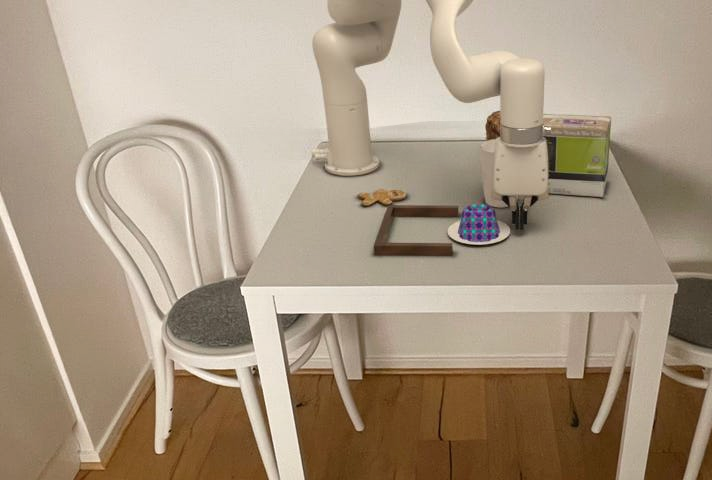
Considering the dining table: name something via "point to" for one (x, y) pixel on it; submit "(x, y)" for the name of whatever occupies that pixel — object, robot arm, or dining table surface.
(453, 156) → the dining table surface
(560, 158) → the tea box
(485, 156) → the cup
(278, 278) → the dining table surface
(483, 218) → the pudding
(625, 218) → the dining table surface
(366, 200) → the cookie
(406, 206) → the frame
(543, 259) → the dining table surface
